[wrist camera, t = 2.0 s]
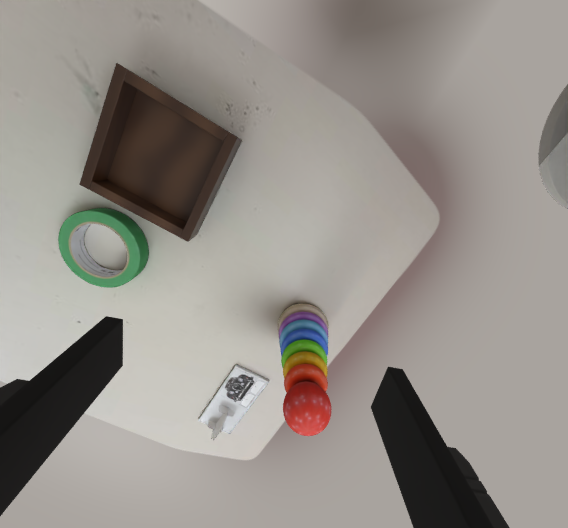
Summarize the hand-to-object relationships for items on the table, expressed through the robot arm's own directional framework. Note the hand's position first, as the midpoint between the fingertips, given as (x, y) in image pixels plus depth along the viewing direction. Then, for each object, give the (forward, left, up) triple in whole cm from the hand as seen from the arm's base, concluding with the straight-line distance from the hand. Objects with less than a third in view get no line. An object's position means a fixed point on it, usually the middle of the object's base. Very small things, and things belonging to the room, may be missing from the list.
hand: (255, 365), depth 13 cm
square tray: (+17, -1, -27) cm, 32 cm away
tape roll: (+20, +14, -27) cm, 36 cm away
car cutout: (-9, +31, -27) cm, 42 cm away
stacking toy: (-11, +11, -27) cm, 31 cm away
